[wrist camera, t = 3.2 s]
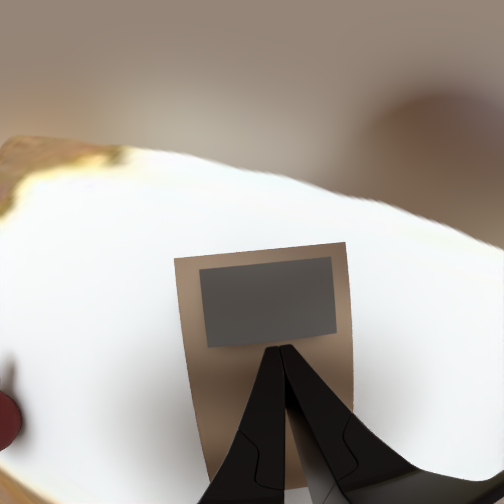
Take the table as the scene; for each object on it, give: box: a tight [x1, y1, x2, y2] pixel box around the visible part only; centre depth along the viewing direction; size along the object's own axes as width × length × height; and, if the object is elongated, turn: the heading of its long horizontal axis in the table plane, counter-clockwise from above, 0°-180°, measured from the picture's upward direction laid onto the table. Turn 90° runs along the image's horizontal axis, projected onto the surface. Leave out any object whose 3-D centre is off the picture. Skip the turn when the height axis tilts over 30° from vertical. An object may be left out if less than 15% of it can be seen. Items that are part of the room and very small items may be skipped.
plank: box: [174, 242, 353, 490], centre depth 13 cm, size 14×8×4 cm, turn 6°
